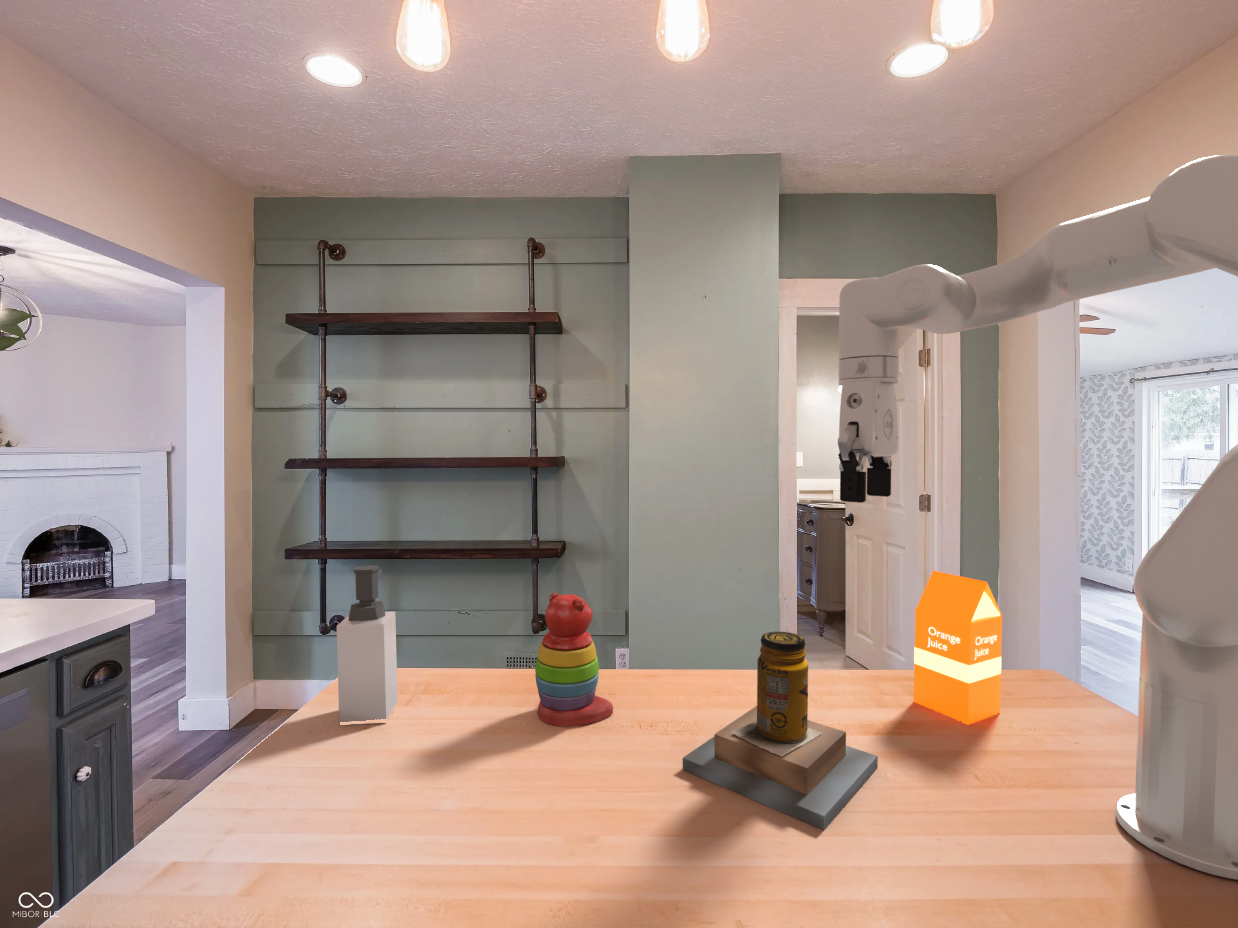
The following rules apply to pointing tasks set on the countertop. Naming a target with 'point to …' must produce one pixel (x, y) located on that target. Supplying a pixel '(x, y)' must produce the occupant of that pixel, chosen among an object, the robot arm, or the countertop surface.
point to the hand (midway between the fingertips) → (866, 498)
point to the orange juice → (958, 648)
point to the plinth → (785, 796)
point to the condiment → (780, 696)
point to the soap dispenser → (367, 654)
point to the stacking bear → (568, 666)
